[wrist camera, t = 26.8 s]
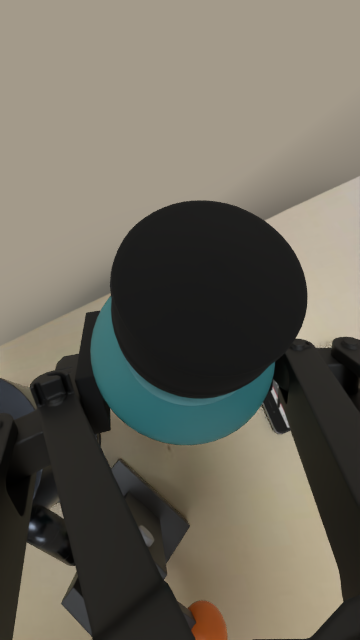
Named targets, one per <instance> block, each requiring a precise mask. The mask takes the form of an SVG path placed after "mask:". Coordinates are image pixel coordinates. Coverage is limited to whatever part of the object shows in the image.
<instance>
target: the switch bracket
mask: <svg viewBox="0 0 360 640" xmlns="http://www.w3.org/2000/svg"><path fill="white" fill-rule="evenodd" d="M111 470H112V472H113V475H114V477H115V479H116V481H117V483H118V485H119V487H120V489H121V492H122V494H123V496H124V498H125V500H126V502H127V504H128V506H129V509H130V511H131V513H132V515H133V517H134V519H135V521H136V524H137V526H138V528H139V530H140V532H141V534H142V536H143V538H144V541H145V543H146V545H147V547H148V549H149V551H150V553H151V555H152V558H153V560H154V562H155V564H156V566H157V568H158V570H159V572H160V574H161V576H162V578H163V580H164V579H165V577H166V576H167V570H166V563H167V562H168V560H169V558H170V557H171V555H172V554H173V552H174V551H175V549H176V547H177V546H178V544H179V543H180V541H181V540H182V538H183V536H184V535H185V533H186V532H187V530H188V529H189V527H190V525H189V523H188V521H187V520H186V519H185V518H184V517H183V516H182V515H181V514H180V513H178V512H177V511H176V510H175V509H174V508H173V507H172V506H171V505H170V504H169V503H168V502H167V501H165V500H164V499H163V498H162V497H161V496H160V495H159V494H158V493H157V492H156V491H155V490H154V489H153V488H151V487H150V486H149V485H148V484H147V483H146V482H145V481H144V480H143V479H142V478H141V477H140V476H139V475H137V474H136V473H135V472H134V471H133V470H132V469H131V468H130V467H129V466H128V465H127V464H126V463H125V462H123V461H122V460H121V459H119V460H118V461H117V462H116V464H115V465H114V466H113V467H112V469H111ZM61 604H62V605H63V606H64V607H65V608H66V609H67V610H68V611H69V613H70V614H71V615H72V616H73V617H74V618H75V619H76V620H77V621H78V622H79V623H80V624H81V625H82V627H83V628H84V629H85V630H86V631H87V632H88V633H89V634H90V635H91V636H92V633H91V628H90V624H89V619H88V615H87V611H86V607H85V603H84V599H83V595H82V591H81V586H80V582H79V578H78V574H77V572H76V574H75V576H74V578H73V580H72V582H71V584H70V586H69V588H68V590H67V592H66V594H65V596H64V598H63V600H62V603H61Z"/></svg>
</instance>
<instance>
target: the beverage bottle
mask: <svg viewBox="0 0 360 640" xmlns="http://www.w3.org/2000/svg"><path fill="white" fill-rule="evenodd" d="M110 289H111V296H110V297H109V299H108V300H107V302H106V303H105V304H104V306H103V307H102V309H101V311H100V313H99V315H98V317H97V320H96V323H95V326H94V329H93V333H92V338H91V349H90V352H91V364H92V370H93V375H94V377H95V380H96V383H97V386H98V388H99V390H100V392H101V394H102V396H103V398H104V400H105V401H106V403H107V404H108V405H109V407H110V408H111V409H112V411H113V412H114V413H115V414H116V415H117V416H118V417H119V418H120V419H121V420H122V421H123V422H124V423H126V424H127V425H128V426H129V427H131V428H132V429H134V430H135V431H137V432H138V433H140V434H142V435H144V436H147V437H149V438H151V439H154V440H157V441H160V442H163V443H169V444H175V445H197V444H204V443H208V442H213V441H216V440H218V439H221V438H223V437H226V436H228V435H229V434H231V433H233V432H235V431H237V430H238V429H239V428H240V427H242V426H243V425H244V424H246V423H247V422H248V421H249V420H250V419H251V417H252V416H253V415H254V414H255V413H256V412H257V410H258V409H259V408H260V406H261V405H262V403H263V401H264V399H265V397H266V395H267V394H268V391H269V388H270V386H271V383H272V379H273V375H274V368H275V361H276V360H278V359H279V358H280V357H281V356H282V355H283V354H284V353H285V352H286V351H287V350H288V349H289V347H290V346H291V345H292V343H293V342H294V340H295V338H296V337H297V335H298V333H299V331H300V329H301V327H302V324H303V321H304V318H305V314H306V309H307V286H306V280H305V276H304V272H303V270H302V267H301V264H300V262H299V260H298V258H297V256H296V254H295V253H294V251H293V250H292V248H291V247H290V245H289V244H288V243H287V241H286V240H285V239H284V238H283V237H282V236H281V235H280V234H279V233H278V232H277V231H276V230H275V229H274V228H273V227H272V226H270V225H269V224H268V223H267V222H265V221H264V220H262V219H261V218H259V217H257V216H256V215H254V214H252V213H250V212H248V211H246V210H244V209H241V208H239V207H237V206H233V205H230V204H226V203H221V202H215V201H186V202H181V203H176V204H172V205H170V206H167V207H164V208H162V209H159V210H157V211H155V212H153V213H152V214H150V215H148V216H147V217H145V218H144V219H143V220H141V221H140V222H139V223H137V224H136V225H135V226H134V227H133V228H132V229H131V230H130V231H129V233H128V234H127V236H126V237H125V238H124V240H123V242H122V243H121V245H120V247H119V249H118V251H117V254H116V256H115V259H114V262H113V266H112V271H111V280H110Z"/></svg>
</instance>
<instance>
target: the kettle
mask: <svg viewBox="0 0 360 640" xmlns="http://www.w3.org/2000/svg"><path fill="white" fill-rule="evenodd" d="M36 409H37V406H36V403H35V401H34V398H33V396H32V393H31V391H30V388H28V387H25V386H22V385H19V384H17V383H14V382H11V381H8V380H5V379H2V378H0V413H8V414H10V415H11V416H12V417H13V419H14V420H15V419H17V418H20V417H22V416H24V415H27V414H29V413H31V412H33V411H34V410H36ZM95 436H96V438H97V441H98V443H99V445H100V438H99V433H98V434H95ZM36 473H37V474H36V481H35V488H34V495H33V501H32V508H31V515H30V522H29V529H28V536H27V543H29V544H31V545H33V546H34V547H36V548H38V549H40V550H42V551H43V552H45V553H47V554H49V555H51V556H53V557H54V558H56V559H58V560H60V561H62V562H63V563H65V564H67V565H70V566H75V562H74V558H73V554H72V549H71V545H70V541H69V537H68V533H67V529H66V525H65V521H64V519H63V518H62V517H60V516H58V515H57V514H55V513H54V512H52V511H50V510H49V509H50V508H51V507H52V506H54V505H55V504H57V503H59V502H60V500H59V496H58V492H57V488H56V483H55V479H54V475H53V471H52V467H51V465H49V466H47V467H45V468H43V469H41V470H40V471H38V472H36Z"/></svg>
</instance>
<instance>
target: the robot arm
mask: <svg viewBox="0 0 360 640" xmlns="http://www.w3.org/2000/svg"><path fill="white" fill-rule="evenodd" d="M99 313H100V311H94V312H88V313H86V317H85V322H84V328H83V334H82V340H81V346H80V351H79V354H75V355H70V356H65V357H63V358H62V359H61V360H60V361H59V362H58V363H57V366H56V369H55V371H51V372H47V373H45V374H43V375H40V376H39V377H37V378H36V379H35V380H34V381H33V382H32V383H31V384H30V391H31V393H32V396H33V398H34V401H35V403H36V406H37V409H36V410H34V411H33V412H31V413H29V414H27V415H24V416H22V417H20V418H17V419H15V420H14V419H13V417H12V416H11V415H10V414H8V413H0V640H12V638H13V631H14V625H15V618H16V611H17V604H18V597H19V590H20V583H21V577H22V570H23V563H24V556H25V549H26V542H27V536H28V529H29V522H30V515H31V508H32V501H33V495H34V488H35V481H36V474H37V473H36V472H38V471H40V470H41V469H43V468H45V467H47V466H49V465H51V467H52V471H53V475H54V479H55V483H56V488H57V492H58V496H59V500H60V504H61V508H62V512H63V516H64V521H65V525H66V529H67V533H68V537H69V541H70V545H71V549H72V554H73V558H74V562H75V566H76V570H77V574H78V578H79V582H80V586H81V591H82V595H83V599H84V603H85V607H86V611H87V615H88V619H89V624H90V628H91V633H92V639H93V640H196V639H195V637H194V635H193V633H192V631H191V629H190V627H189V625H188V622H187V620H186V618H185V616H184V614H183V612H182V610H181V608H180V606H179V604H178V602H177V600H176V598H175V596H174V594H173V592H172V590H171V588H170V587H169V585H168V583H166V582H165V581H164V580H163V578H162V576H161V574H160V572H159V570H158V568H157V566H156V564H155V562H154V560H153V558H152V555H151V553H150V551H149V549H148V547H147V545H146V543H145V541H144V538H143V536H142V534H141V532H140V530H139V528H138V526H137V524H136V521H135V519H134V517H133V515H132V513H131V511H130V509H129V506H128V504H127V502H126V500H125V498H124V496H123V494H122V492H121V489H120V487H119V485H118V483H117V481H116V479H115V477H114V475H113V472H112V470H111V468H110V466H109V464H108V462H107V460H106V458H105V455H104V453H103V451H102V449H101V447H100V445H99V443H98V441H97V438H96V436H95V434H98V433H102V432H106V431H110V430H111V428H110V407H109V405H108V404H107V403H106V401H105V400H104V398H103V396H102V394H101V392H100V390H99V388H98V386H97V383H96V380H95V377H94V375H93V370H92V364H91V352H90V349H91V338H92V333H93V329H94V326H95V323H96V320H97V317H98V315H99ZM273 380H274V381H275V382H276V383H277V384H278V385H279V387H278V399H277V408H280V404H282V407H283V409H284V412H285V415H286V418H287V421H288V424H289V427H290V430H291V433H292V436H293V438H294V441H295V444H296V447H297V450H298V453H299V456H300V459H301V462H302V464H303V467H304V470H305V473H306V476H307V479H308V482H309V485H310V488H311V490H312V493H313V496H314V499H315V502H316V505H317V508H318V511H319V514H320V517H321V519H322V522H323V525H324V528H325V531H326V534H327V537H328V540H329V543H330V545H331V548H332V551H333V554H334V557H335V560H336V563H337V566H338V569H339V574H340V580H341V590H342V596H343V601H344V602H343V603H342V604H341V605H340V607H339V608H338V609H337V610H336V611H335V612H334V613H333V614H332V615H331V616H330V617H329V618H328V620H327V621H326V622H325V623H324V624H323V625H322V626H321V627H320V628H319V629H318V630H317V632H316V633H315V634H314V635H313V636H312V637H310V638H307V639H253V640H360V340H358V339H355V338H352V337H339V338H336V339H334V340H333V342H332V348H315V346H314V345H313V344H312V343H310V342H308V341H306V340H302V339H295V340H294V342H293V343H292V345H291V346H290V347H289V349H288V350H287V351H286V352H285V353H284V354H283V355H282V356H281V357H280V358H279V359H278V360H276V361H275V368H274V375H273V379H272V383H271V386H270V388H269V391H272V390H273Z"/></svg>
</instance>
